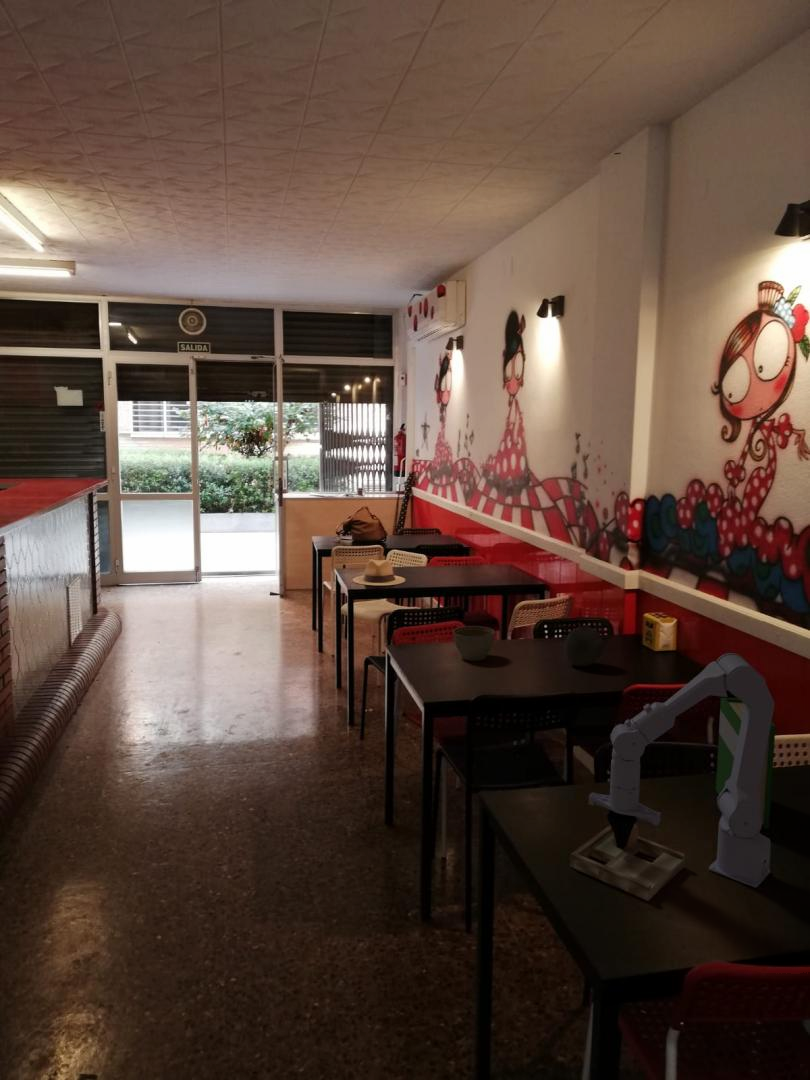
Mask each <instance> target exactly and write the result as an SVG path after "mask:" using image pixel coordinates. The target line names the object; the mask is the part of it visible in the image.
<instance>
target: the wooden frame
mask: <svg viewBox="0 0 810 1080" xmlns="http://www.w3.org/2000/svg"><path fill="white" fill-rule="evenodd" d="M638 853H641V854H645V855H647V856H649V857H651V858H654V860H653V862H650V861H648V860H645V859H642V858H640V857H638V856H636V855H637V854H638ZM591 857H593V858H595V859H597V860H600V861H601V862H602V861H603V862H604V863H606V864H602V863H599V862H598V861H595V860H593V859H591ZM569 858H570V859H569V861H570V862H569V867H570V868H572V869H575V870H577V871H579V872H581V873H584V874H586V875H588V876H591V877H592V878H595V879H597V880H600V881H602V882H604V883H606V884H609V885H611V886H613V887H616V888H618V889H620V890H622V891H625V892H627V893H629V894H631V895H634V896H635V897H638V898H640V899H642V900H644V901H648V902H649V901H650V900H651V899H652V898H653V897H654V896H655V895H656V894H658V893H659V891H661V889H663V888H664V887H665V886H666V884H668V883H669V882H670V881H671V880H673V878H674V877H675V876H677V874H679V873H680V871H682V870H683V869H684V868H685V863H686V861H685V860H686V854H685V853H683V852H681V851H678V850H675V849H674V848H671V847H668V846H665V845H662V844H660V843H657V842H655V841H652V840H650V839H647V838H644V837H642V836H639V835H638V839H637V847H636V848H634V849H629V850H628V849H621V848H618V847H617V846H615V845H614V844H613V829H612V827H611V825H610V824H609V825H608V826H607V827H605V828H604V829H603V830H601V831H600V832H598V833H596V835H594V836H593V837H592V838H590V839H589V840H587V841H586V842H585V843H583V844H581V846H579V847H578V848H577V849H575V850H574V851H572V852H571V853H570V857H569Z"/></svg>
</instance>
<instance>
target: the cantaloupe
mask: <svg viewBox="0 0 810 1080" xmlns="http://www.w3.org/2000/svg"><path fill="white" fill-rule="evenodd" d="M563 647H564V648H563V649H564V654H565V658H566V659H567V660H568V662H569V663H570V664H572V665H574V666H576V667H578V668H579V667H580V668H583V667H584V668H585V667H587V666H590V665H592V664H594V663H595V662H596V661H597V660H598V659H599V658H600V657H601V655H602V653H603V651H604V647H605V642H604V639H603V636H602V635H601V634H600V632H598V631H597V630H596V629H593V628H592V627H589V626H578V627H575V628H573V629H572V630H570V632H569V633H568V634H567V637H566V638H565V641H564V646H563Z"/></svg>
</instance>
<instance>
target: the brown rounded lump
mask: <svg viewBox="0 0 810 1080" xmlns="http://www.w3.org/2000/svg"><path fill="white" fill-rule="evenodd" d="M638 836H639V826H638V824H637V823H635V825H634V827H633V829H632V831H631V833H630V836H629V839H628V843H627V846H626V847H625V848H624V849H628V850H629V849H634V848H636V847H637V839H638ZM613 844H614V845H615V846H617V845H616V840H615V836H614V832H613Z"/></svg>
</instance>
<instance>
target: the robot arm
mask: <svg viewBox="0 0 810 1080" xmlns="http://www.w3.org/2000/svg"><path fill="white" fill-rule="evenodd" d="M727 691H728V692H729V693H730V694H731V695H732V696H735V698H739V699H741V700H742V701H743V703H744V711H743V716H742V721H741V726H740V731H739V737H738V742H737V747H736V752H735V757H734V763H733V768H732V773H731V777H730V778H729V779H728V780H727V781H726V782H725V787H724V789H723V790H722V792H721V793H720V794H719V796H718V795H717V797H716V798H717V799H716V805H717V808H718V810H719V811H720V812H721V816H720V819H719V822H718V834H717V847H716V848H717V851H716V859H715V861H713V862H712V863H711V864H710V865H709V867H708V870H709V871H711V872H714V873H716V874H719V875H721V876H724V877H727V878H730V879H732V880H734V881H737V882H738V883H739V882H740V883H741V884H744V885H747V886H750V887H753V888H756V889H757V888H758V887H759V886H760V885H761V884H762V882H763V881H764V880H765V879H766V877H768V875H769V874H771V870H770V862H771V861H770V860H771V847H772V843H771V839H770V838H768V837H767V836H765V835H763V834H762V833H760V831H761V830H762V827H763V825H762V818H761V815H760V806H761V803H760V797H759V792H758V786H759V781H760V776H761V771H762V766H763V761H764V756H765V751H766V746H767V741H768V736H769V731H770V726H771V721H772V720H773V716H774V715H773V714H774V711H775V701H774V699H773V697H772V694H771V692H770V690H769V688H768V686H767V682H766V678H764V676H762V675H761V674H760V672H758V671H757V670H756V669H755V668H754V667H753V666H752V665H751V664H750V663H749V662H748V661H747V660H746V659H745V658H744V657H742V655H739V654H737V653H734V652H728V653H724V654H721V656H719V657H718V658H717V659H716V661H715V660H714V661H711V662H710V663H708V664H707V665H706V666H705V668H703V670H702V671H701V672H699V674H697V675H696V676H695V677H694V678H693V679H692V680H690V681H689V682H687V683H686V684H685V685H684V686H683V687H682V688H680V689H679V690H678V691H677V692H676V693H674V694H673V695H672V696H671V697H669V698H668V699H667V700H666V701H664V702H658V701H654V702H653V703H651V704H650V703H646V704H645V705H644V706H643V710H642V711H641V712H639V713H638V714H636V715H635V716H634V717H632V718H631V719H629V718H628V719H626V720H625V721H624V723H619V724H617V725H616V726H615V727H614V728H613V729H612V732H611V733H610V734H609V739H610V742H611V744H612V746H613V747H612V752H611V763H610V782H609V783H610V784H609V785H610V786H609V794H601V793H596V792H591V793H590V794H589V795H588V805H590V806H594V805H595V806H599V807H601V808H605V809H608V813H607V814H606V820H607V821H608V823H609V825H611V827H612V829H613V832H614V836H615V840H616V845H617V847H618V848H621V849H624V848H625V847H626V846H627V843H628V839H629V836H630V833H631V831H632V829H633V827H634V825H635V824H637V823H636V822H637V821H638V820H639V819H640V820H643V821H645V822H648V823H651V825H652V826H658V825H659V824H660V823H661V812H659V811H656V810H653V809H652V808H649V807H648V806H646V805H644V804H642V803H640V801H639V799H640V778H641V757H642V756H643V755H644V752H645V748H646V746H648V745H650V744H651V743H652V742H653V741H656V739H658V738H659V737H660V736H662V735H663V734H665V733H666V732H668V731H669V730H670V729H672V728H673V727H674V726H675V721H676V717H678V716H680V715H681V714H682V713H684V712H685V711H687V710H688V709H690V708H691V707H692V708H693V706H695V705H697V704H698V703H699V702H701V701H702V700H704V699H706V698H707V697H709V696H714V697H721V698H729V697H728V694H727ZM772 722H773V721H772Z"/></svg>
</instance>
